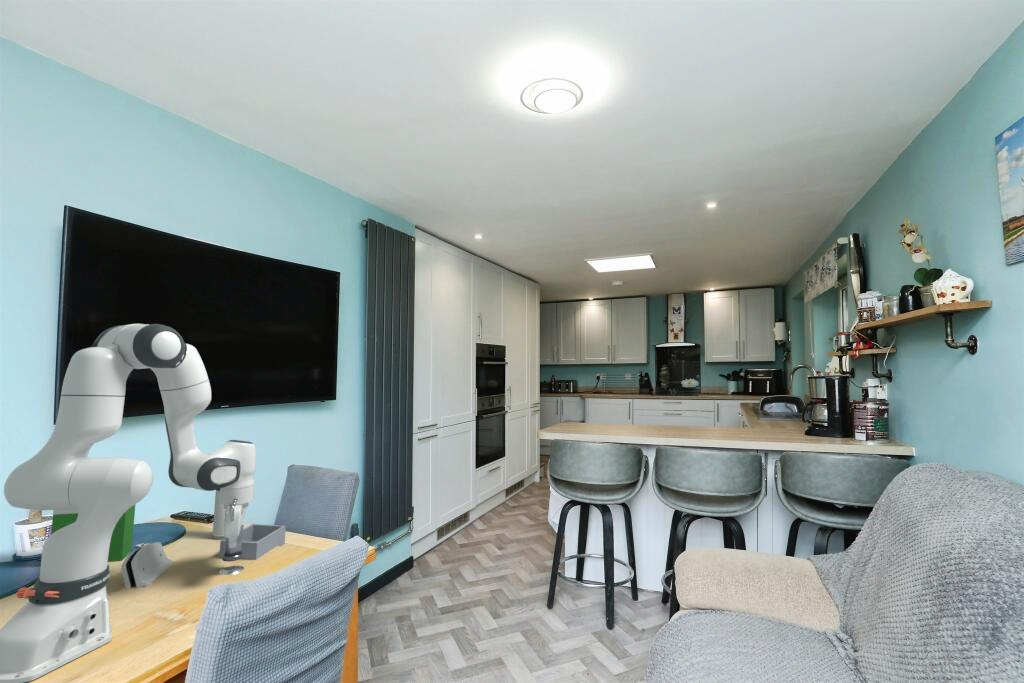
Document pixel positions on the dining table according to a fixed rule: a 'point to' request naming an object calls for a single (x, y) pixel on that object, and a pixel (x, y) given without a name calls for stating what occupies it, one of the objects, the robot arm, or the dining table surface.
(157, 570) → the white curved housing
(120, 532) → the hardback book
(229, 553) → the grey knob
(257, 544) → the bin
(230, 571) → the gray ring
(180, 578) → the dining table surface
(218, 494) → the travel mug
